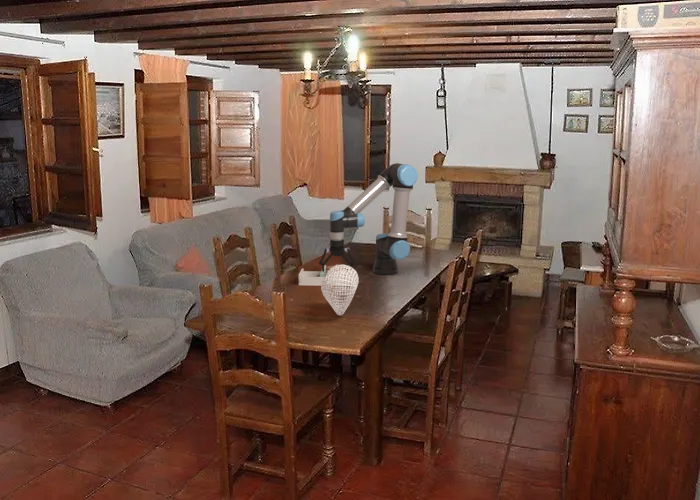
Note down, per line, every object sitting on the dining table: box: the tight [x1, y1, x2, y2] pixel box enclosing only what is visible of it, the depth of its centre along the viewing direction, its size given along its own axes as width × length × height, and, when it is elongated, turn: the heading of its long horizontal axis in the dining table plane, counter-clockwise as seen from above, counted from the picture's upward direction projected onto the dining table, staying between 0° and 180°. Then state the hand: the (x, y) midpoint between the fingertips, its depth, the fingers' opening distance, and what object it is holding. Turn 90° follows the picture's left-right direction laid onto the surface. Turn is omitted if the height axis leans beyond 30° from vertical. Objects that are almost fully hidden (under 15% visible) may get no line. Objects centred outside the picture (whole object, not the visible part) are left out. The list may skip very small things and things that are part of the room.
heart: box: [320, 264, 359, 316], centre depth 300 cm, size 28×16×22 cm, turn 174°
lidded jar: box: [326, 263, 346, 277], centre depth 362 cm, size 11×11×9 cm
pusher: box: [317, 269, 324, 277], centre depth 363 cm, size 4×12×5 cm, turn 177°
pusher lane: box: [298, 268, 355, 287], centre depth 363 cm, size 31×15×6 cm, turn 87°
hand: (337, 277), depth 362 cm, fingers open, 13 cm apart
